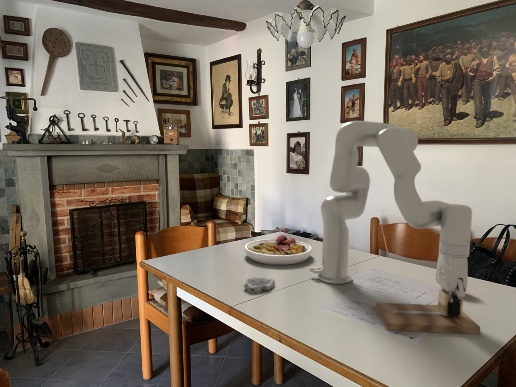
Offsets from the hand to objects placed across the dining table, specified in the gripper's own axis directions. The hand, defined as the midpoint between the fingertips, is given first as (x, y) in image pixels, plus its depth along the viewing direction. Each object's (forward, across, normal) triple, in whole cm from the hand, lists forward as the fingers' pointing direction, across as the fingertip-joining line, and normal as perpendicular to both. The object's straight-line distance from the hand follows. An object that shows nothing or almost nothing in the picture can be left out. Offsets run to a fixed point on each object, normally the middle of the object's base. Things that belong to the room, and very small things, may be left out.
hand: (449, 311), depth 109 cm
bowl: (+4, -62, -50) cm, 80 cm away
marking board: (+3, 0, -7) cm, 8 cm away
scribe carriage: (0, 0, 0) cm, 1 cm away
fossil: (+4, -22, -56) cm, 60 cm away
